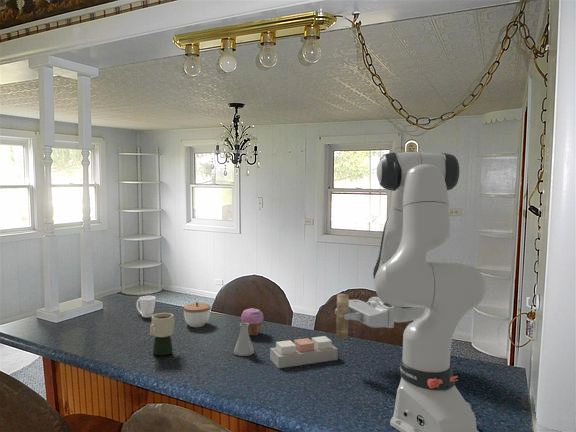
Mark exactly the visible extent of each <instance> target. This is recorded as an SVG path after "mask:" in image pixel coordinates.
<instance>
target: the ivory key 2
mask: <svg viewBox="0 0 576 432" xmlns="http://www.w3.org/2000/svg"><path fill="white" fill-rule="evenodd" d="M311 341H312V342H313V343H314V348H315V349H317V350H323V349H330V348H332V345H333V343H332V342H333V341H332V340H331V339H330V338H329V337H327V336H326V335H323V336H322V335H321V336H314V337H311Z"/></svg>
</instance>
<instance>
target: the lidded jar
mask: <svg viewBox="0 0 576 432" xmlns="http://www.w3.org/2000/svg"><path fill="white" fill-rule="evenodd" d="M210 314H211V305H210V304H209V303H205V302H199V301H195V302H191V303H187V304H185V305H184V306H183V316H184V320H185V322H186V323H187V325H188V326H189V327H192V328H200V327H203V326H205V324H207V322H208V321H209V319H210V316H211V315H210Z"/></svg>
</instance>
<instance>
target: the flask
mask: <svg viewBox="0 0 576 432" xmlns="http://www.w3.org/2000/svg"><path fill="white" fill-rule="evenodd" d="M248 326H249V323H243V322H240V323H239V327H240V330H239V334H238V338H237V342H236V345H235V346H234V349H233V355H235V356H239V357H246V356H247V357H249V356H252V355H253V354H255V349H254V346H253V343H252V340H251V337H250V335H249V333H248Z"/></svg>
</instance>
